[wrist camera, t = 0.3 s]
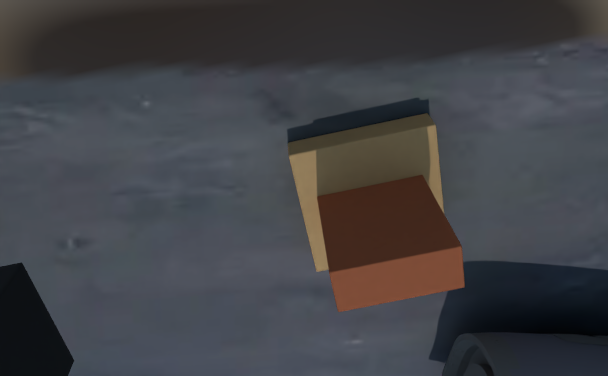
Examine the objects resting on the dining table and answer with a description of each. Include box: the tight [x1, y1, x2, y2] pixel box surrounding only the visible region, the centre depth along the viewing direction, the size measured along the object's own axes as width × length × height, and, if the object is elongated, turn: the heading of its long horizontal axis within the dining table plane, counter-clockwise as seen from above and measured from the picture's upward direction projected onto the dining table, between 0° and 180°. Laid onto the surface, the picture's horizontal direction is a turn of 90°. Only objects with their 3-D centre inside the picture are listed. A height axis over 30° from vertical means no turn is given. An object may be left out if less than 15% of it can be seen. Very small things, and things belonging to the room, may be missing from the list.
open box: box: [288, 113, 465, 312], centre depth 29 cm, size 8×8×9 cm
